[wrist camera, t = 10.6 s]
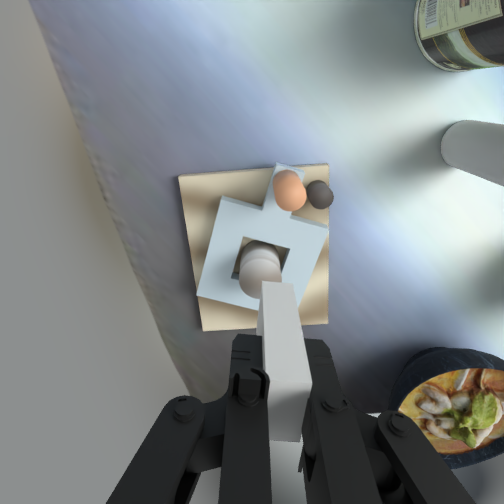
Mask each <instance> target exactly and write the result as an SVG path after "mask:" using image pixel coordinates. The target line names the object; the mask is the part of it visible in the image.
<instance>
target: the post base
mask: <svg viewBox="0 0 504 504" xmlns="http://www.w3.org/2000/svg"><path fill="white" fill-rule="evenodd" d="M292 167H295V168H298V169H302V170H304V172H305V175H304V178H303V181H302V184H303V186H304V188H305V190H306V194H307V197H306V201H305V203H304V205H303V206H302V207H301V208H300V209H298V210H296V211H292V213H291V215H294V216H298V217H301V218H305V219H309V220H312V221H316V222H319V223H323V224H327V226H328V228H329V206H330V205H331V204H332V202H333V198H334V196H333V192H332V191H331V189H330V188H329V165H328V164H327V163H323V164H310V165H297V166H292ZM273 170H274V167H271V168H258V169H245V170H232V171H220V172H207V173H194V174H181V175H180V176H179V177H178V178H179V184H180V191H181V197H182V203H183V209H184V215H185V222H186V228H187V234H188V240H189V246H190V252H191V259H192V265H193V271H194V277H195V283H196V289H197V290H198V286H199V282H200V279H201V275H202V271H203V267H204V263H205V259H206V255H207V251H208V248H209V244H210V240H211V236H212V232H213V228H214V224H215V220H216V217H217V213H218V209H219V205H220V201H221V198H222V196H226V197H230V198H233V199H237V200H240V201H244V202H248V203H251V204H255V205H258V206H262V205H263V202H264V199H265V196H266V192H267V189H268V186H269V183H270V180H271V176H272V173H273ZM286 251H287V248H286V247H282V246H278V245H274V244H271V243H267V242H263V241H259V240H256V239H252V238H248V237H244V236H243V238H242V242H241V245H240V248H239V252H238V255H237V258H236V262H235V265H234V269H233V272H234V273H237V274H239V285H240V287H241V289H242V291H243V292H244V293H245V294H246V295H248V296H250V297H252V298H255V299H260V295H261V287H262V281H270V282H281V283H282V276H281V269H280V268H281V265H282V262H283V259H284V256H285V254H286ZM328 254H329V232H328V234H327V237H326V239H325V242H324V244H323V247H322V249H321V252H320V254H319V257H318V259H317V262H316V264H315V267H314V269H313V272H312V274H311V277H310V280H309V282H308V285H307V287H306V290H305V292H304V295H303V297H302V300H301V302H300V305H299V307H298V312H299V317H300V323H301V325H313V324H328ZM198 302H199V308H200V314H201V320H202V326H203V331H214V330H230V329H247V328H257V319H258V310H253V309H249V308H245V307H241V306H237V305H233V304H229V303H225V302H221V301H217V300H213V299H209V298H205V297H201V296H198Z"/></svg>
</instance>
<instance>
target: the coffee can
mask: <svg viewBox="0 0 504 504" xmlns="http://www.w3.org/2000/svg"><path fill="white" fill-rule="evenodd" d="M414 30H415V36H416V41H417V43H418V45H419V47H420V50H421V51H422V53H423V54H424V56H425V57H426V58H427V59H428V60H429V61H430V62H431V63H432V64H434V65H435V66H437V67H439V68H441V69H443V70H447V71H453V72H462V71H469V70H472V69H481V68H490V67H500V66H504V0H417V2H416V6H415V12H414Z"/></svg>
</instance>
